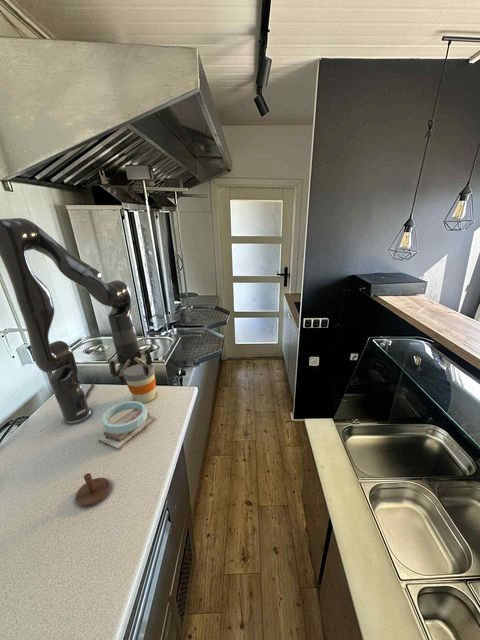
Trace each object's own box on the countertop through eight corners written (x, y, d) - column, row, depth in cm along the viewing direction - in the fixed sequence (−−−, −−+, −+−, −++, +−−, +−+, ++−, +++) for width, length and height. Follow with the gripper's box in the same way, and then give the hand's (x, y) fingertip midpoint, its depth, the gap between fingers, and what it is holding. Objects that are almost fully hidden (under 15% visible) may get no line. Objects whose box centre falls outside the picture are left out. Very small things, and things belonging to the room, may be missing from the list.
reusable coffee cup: (127, 395, 132) (119, 367, 126) (154, 386, 139) (148, 359, 132) (134, 408, 123) (126, 379, 116) (163, 398, 130) (157, 369, 123)
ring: (98, 419, 110) (96, 412, 108) (137, 402, 119) (136, 396, 117) (112, 439, 100) (109, 432, 98) (153, 420, 109) (152, 413, 107)
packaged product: (134, 403, 118) (152, 409, 114) (136, 413, 120) (154, 419, 117) (95, 431, 104) (114, 439, 100) (99, 441, 106) (118, 449, 102)
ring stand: (73, 492, 87) (65, 475, 83) (105, 475, 92) (98, 458, 89) (81, 513, 81) (73, 495, 77) (114, 493, 86) (108, 475, 83)
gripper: (141, 331, 106) (149, 369, 113) (100, 342, 98) (111, 382, 105) (149, 336, 101) (157, 376, 109) (107, 349, 93) (119, 391, 100)
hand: (135, 379), depth 107 cm, fingers open, 8 cm apart
